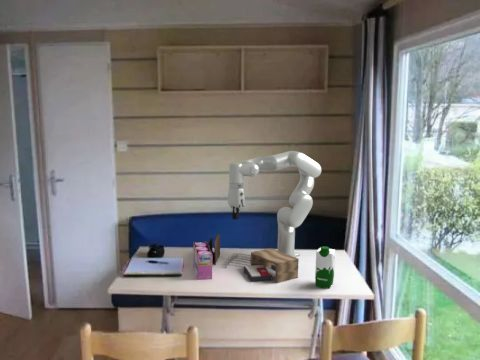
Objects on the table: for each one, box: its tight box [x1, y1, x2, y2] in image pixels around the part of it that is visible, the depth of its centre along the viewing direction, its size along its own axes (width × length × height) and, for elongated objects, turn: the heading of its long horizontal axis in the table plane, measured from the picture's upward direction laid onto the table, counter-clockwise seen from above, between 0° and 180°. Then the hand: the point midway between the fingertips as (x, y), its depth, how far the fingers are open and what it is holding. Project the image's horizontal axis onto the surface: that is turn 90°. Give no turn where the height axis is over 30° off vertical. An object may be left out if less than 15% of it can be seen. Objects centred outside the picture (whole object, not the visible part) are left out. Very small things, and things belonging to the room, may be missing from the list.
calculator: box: [243, 264, 273, 283], centre depth 242 cm, size 11×4×15 cm
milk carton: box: [314, 245, 336, 290], centre depth 229 cm, size 9×9×20 cm
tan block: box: [250, 247, 299, 284], centre depth 244 cm, size 14×22×10 cm, turn 36°
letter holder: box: [202, 233, 221, 266], centre depth 267 cm, size 10×20×14 cm, turn 175°
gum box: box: [192, 241, 213, 281], centre depth 246 cm, size 24×8×14 cm, turn 11°
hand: (235, 219), depth 251 cm, fingers closed
